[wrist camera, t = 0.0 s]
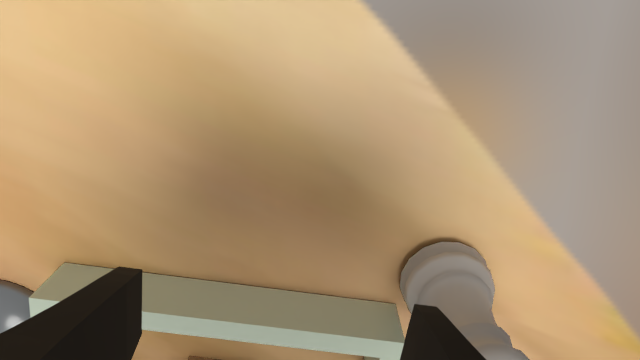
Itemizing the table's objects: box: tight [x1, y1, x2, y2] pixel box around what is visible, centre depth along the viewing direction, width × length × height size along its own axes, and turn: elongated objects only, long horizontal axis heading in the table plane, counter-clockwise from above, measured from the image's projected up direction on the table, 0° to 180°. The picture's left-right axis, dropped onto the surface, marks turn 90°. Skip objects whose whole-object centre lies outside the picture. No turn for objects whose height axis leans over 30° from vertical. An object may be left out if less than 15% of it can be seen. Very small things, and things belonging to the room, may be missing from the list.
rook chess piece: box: [400, 242, 529, 360], centre depth 20 cm, size 4×4×8 cm
